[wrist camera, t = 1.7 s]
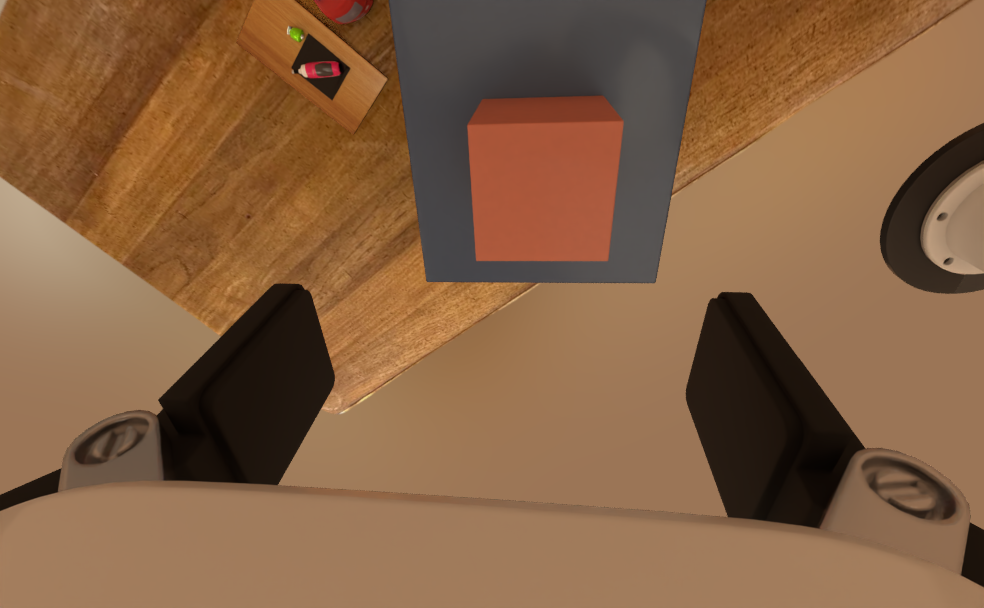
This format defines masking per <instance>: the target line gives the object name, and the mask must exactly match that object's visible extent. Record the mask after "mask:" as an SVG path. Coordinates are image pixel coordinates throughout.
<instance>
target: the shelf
mask: <svg viewBox="0 0 984 608" xmlns="http://www.w3.org/2000/svg"><path fill="white" fill-rule="evenodd" d="M706 1H707V0H389V7H390V14H391V22H392V29H393V37H394V44H395V51H396V59H397V66H398V74H399V81H400V88H401V96H402V103H403V111H404V118H405V125H406V133H407V140H408V148H409V155H410V163H411V170H412V177H413V185H414V192H415V200H416V207H417V214H418V222H419V229H420V237H421V244H422V251H423V259H424V266H425V274H426V281H427V282H531V283H655V282H656V278H657V272H658V267H659V261H660V255H661V250H662V244H663V239H664V233H665V227H666V222H667V217H668V211H669V206H670V200H671V195H672V189H673V183H674V178H675V172H676V167H677V161H678V156H679V150H680V145H681V139H682V134H683V128H684V123H685V117H686V111H687V106H688V100H689V95H690V89H691V84H692V78H693V73H694V67H695V62H696V56H697V51H698V45H699V39H700V34H701V28H702V23H703V17H704V12H705V6H706ZM571 96H604V97H605V98H606V100H607V101H608V102H609V103H610V105H611V106H612V107H613V108H614V110H615V111H616V112H617V113H618V115H619V116H620V117H621V118H622V120H623V121H624V125H623V134H622V142H621V151H620V160H619V169H618V178H617V187H616V196H615V205H614V214H613V223H612V232H611V241H610V250H609V259H608V261H476V253H475V237H474V222H473V207H472V191H471V176H470V160H469V145H468V130H467V125H468V123H469V121H470V120H471V118H472V116H473V114H474V113H475V111H476V109H477V108H478V106H479V104H480V102H481V101H482V99H503V98H537V97H571Z"/></svg>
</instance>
